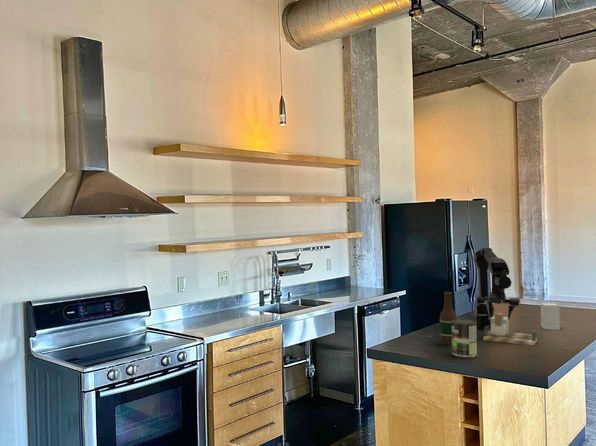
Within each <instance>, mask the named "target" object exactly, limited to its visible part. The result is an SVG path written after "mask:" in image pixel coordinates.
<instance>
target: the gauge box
mask: <svg viewBox="0 0 596 446" xmlns="http://www.w3.org/2000/svg"><path fill="white" fill-rule="evenodd" d="M490 319H491V325H492V324H493V323H495V315H493V317H490ZM503 324H506V325H507V331H506V332H509V331H510V330H509V320H508V316H503ZM509 333H510V332H509Z"/></svg>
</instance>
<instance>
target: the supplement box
mask: <svg viewBox="0 0 596 446" xmlns="http://www.w3.org/2000/svg"><path fill="white" fill-rule="evenodd" d="M560 311H561V309H560V304H557V303H553V302H552V303H548V302H543V303H540V324H541V326H540V327H541V328H542V329H544V330H552V331H556V330H558V331H559V330H560V329H561V322H560V321H561V320H560V315H561V313H560Z"/></svg>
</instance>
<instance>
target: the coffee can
mask: <svg viewBox="0 0 596 446" xmlns="http://www.w3.org/2000/svg"><path fill="white" fill-rule="evenodd" d="M451 323H452V346H451V354H452V355H453V356H455V357H460V358H474V357H477V356H478V351H477V347H478V346H477V344H478V343H477V341H478V340H477V329H476V327H477V320H473V319H467V318H457V319H454V320H452V321H451Z"/></svg>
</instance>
